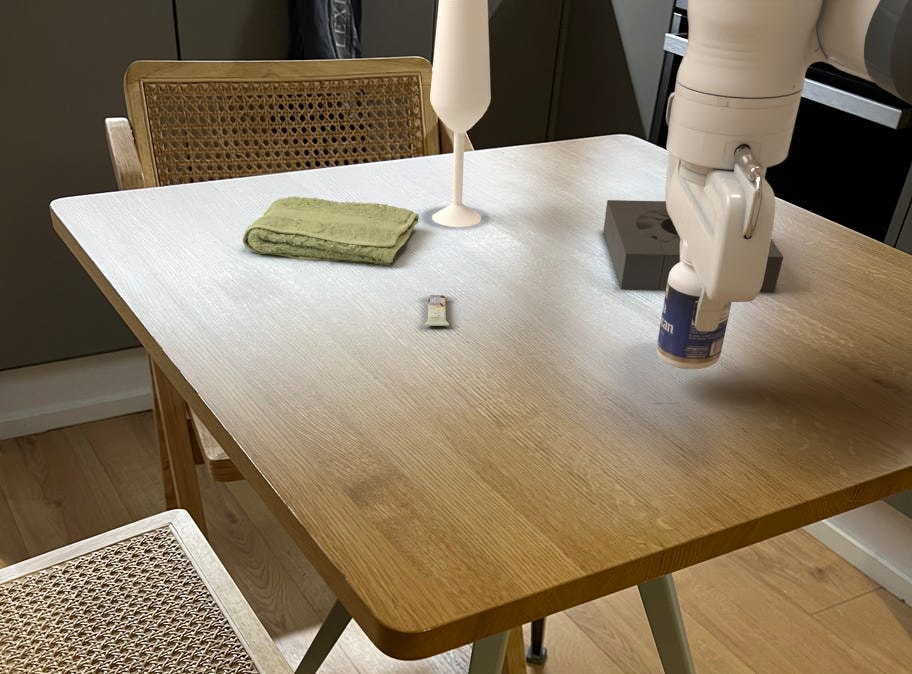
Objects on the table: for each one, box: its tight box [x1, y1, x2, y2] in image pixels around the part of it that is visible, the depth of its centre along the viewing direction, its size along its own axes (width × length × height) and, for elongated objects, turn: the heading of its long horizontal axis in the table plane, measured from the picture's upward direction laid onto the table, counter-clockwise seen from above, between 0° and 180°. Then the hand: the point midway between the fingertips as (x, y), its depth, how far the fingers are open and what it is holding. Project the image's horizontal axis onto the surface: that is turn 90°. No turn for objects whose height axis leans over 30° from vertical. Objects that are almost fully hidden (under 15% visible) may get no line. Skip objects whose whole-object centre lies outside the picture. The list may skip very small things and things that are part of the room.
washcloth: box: [242, 195, 420, 266], centre depth 108 cm, size 13×18×3 cm
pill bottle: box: [656, 239, 733, 370], centre depth 80 cm, size 5×5×10 cm
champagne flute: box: [429, 0, 492, 228], centre depth 107 cm, size 7×7×24 cm
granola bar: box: [424, 294, 450, 327], centre depth 95 cm, size 7×2×1 cm, turn 0°
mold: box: [602, 199, 784, 294], centre depth 105 cm, size 16×16×4 cm
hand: (696, 309), depth 80 cm, fingers closed on pill bottle, 5 cm apart
